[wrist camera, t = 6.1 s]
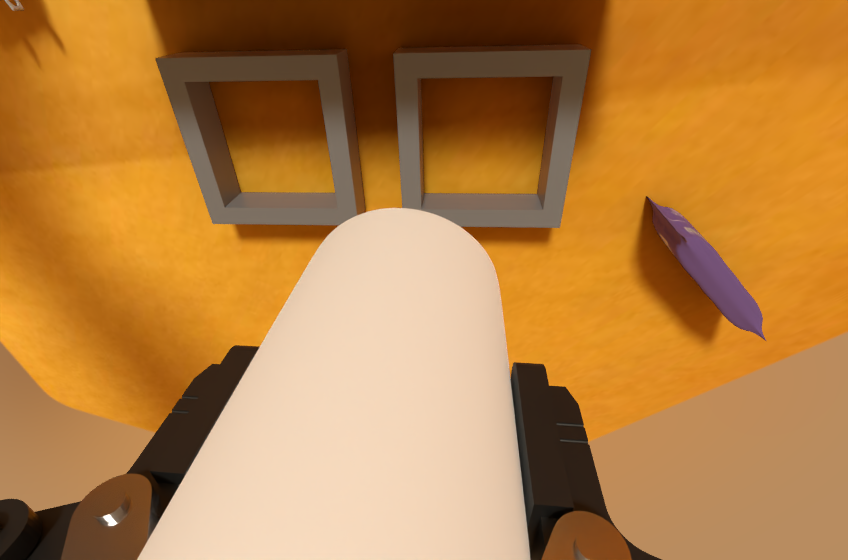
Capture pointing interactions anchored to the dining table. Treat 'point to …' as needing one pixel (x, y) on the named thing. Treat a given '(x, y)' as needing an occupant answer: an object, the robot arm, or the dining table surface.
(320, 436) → the can
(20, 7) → the usb wall charger
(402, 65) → the dock
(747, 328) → the snack package
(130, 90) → the dining table surface
